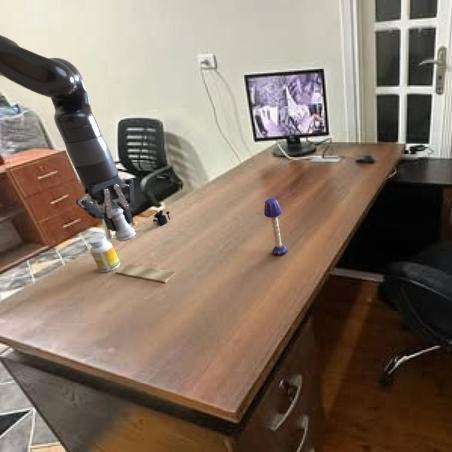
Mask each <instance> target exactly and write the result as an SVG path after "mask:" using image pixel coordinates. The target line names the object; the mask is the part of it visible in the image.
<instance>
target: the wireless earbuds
mask: <svg viewBox="0 0 452 452" xmlns="http://www.w3.org/2000/svg"><path fill="white" fill-rule="evenodd" d="M169 214H170V211H168V210H167V211H165V214H164V210H162V209H160V210H159V212H156V213H155V214H154V215H153V217H154V218H153V219H152V223H156V225H157V227H160V226H164V225H166V224H167V223H168V220H169V221H170V220H171V217H170V215H169ZM166 215H167V216H166ZM167 218H168V219H167Z"/></svg>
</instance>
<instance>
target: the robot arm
mask: <svg viewBox="0 0 452 452" xmlns="http://www.w3.org/2000/svg"><path fill="white" fill-rule="evenodd" d="M0 76H1V77H3V78H5V79H7V80H9V81H10V82H13V83H15V84H17V85H18V86H21V87H22V88H25V89H26V90H29V91H31V92H34V93H35V94H38V95H40V96H44V97H46V98H50V99H51V102H52V105H53V107H54V115H53V121H54V123H55V126H56V128H57V130H58V132H59V134H60V137H61V140H62V141H63V143H64V146H65V149H66V152H67V155H68V157H69V160H70V161H71V164H72V166H73V168H74V169H75V172H76V175H77V176H78V178H79V180H80V182H81V183H82V185H83V186H84V195H83V196H82V197H81V198H78V199H76V200H75V204H76V205H77V206H78V207H80V208H81V209H82V210H83V211H84V212H85V213H86V214H87V215H89V216H90V217H91V218H92V219H95V220H103V222H104V224H105V225H106V227H107V230H109V231H111V232H117V231H118V230H119V227H118V225H117V222H116V220H115V218H114V217H113V216H112V211H111V208H113V206H112V202H113V203H115V206H116V207H117V206H119V207H120V208H121V209H123V215H124V216H125V217H124V218H125V220H126V221H127V223H128V224H129V225H130V224H132V223H133V219H134V218H133V215H132V212H131V210H130V206H131V204H134V203H135V183H134V179H133V178H122V177H120V176H119V170H118V167H117V165H116V162H115V160H114V158H113V155H112V153H111V150H110V148H109V146H108V143H107V142H106V140H105V138H104V136H103V134H102V131H101V129H100V127H99V125H98V122H97V119H96V117H95V116H94V114H93V111H92V106H91V103H90V98H89V94H88V91H87V87H86V84H85V81H84V78H83V77H82V74H81V73H80V71H79V69H78V68H77V67H76V66H75V65H74V64H73V63H72V62H70V61H68V60H67V59H64V58H60V57H46V56H43V55H40V54H38V53H37V52H33V51H30V50H28V49H27V48H24V47H22V46H20V45H19V44H18V43H17V42H16V41H14V40H12V39H11V38H9V37H6V36H4V35H1V34H0ZM92 200H94V201H92ZM94 202H95V205H93V204H94Z"/></svg>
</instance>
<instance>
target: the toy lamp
mask: <svg viewBox="0 0 452 452" xmlns="http://www.w3.org/2000/svg"><path fill="white" fill-rule="evenodd" d="M282 212H283V211H282V208H281V206H280V205H279V203H278V200H277V199H276V198H267V199H265V202H264V211H263V214H264V215H263V216H265V217H266V218H270V221H271V224H272V225H271V226H272V231H273V237H274V242H275V246H274V247H273V249H272V254H273V255H274V256H277V257H282V256H284V255H286V254H287V253H288V247H286V246H285V245H284V244H283V243H282V237H281V233H280V227H279V225H280V224H279V219H278V217H279V216H280V215H281V214H282Z"/></svg>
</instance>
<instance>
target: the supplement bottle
mask: <svg viewBox="0 0 452 452" xmlns="http://www.w3.org/2000/svg"><path fill="white" fill-rule="evenodd" d="M88 244H89V245H90V248H89V249H90V250H89V253H90V254H91V256H92V258H93V260H94V262H95V264H96V266H97V268H98V270H99V272H101V273H108V272H109V273H110V272H112V271H114V270H116V269H118V268H119V267H120V266H121V261H120V259H119V257H118V255H117V253H116V250H115V248H114V246H113V244H112V242H110V241H108V239H107V238H106V236H105V235H97V236H94V237H92V238H91V239H88Z"/></svg>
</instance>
